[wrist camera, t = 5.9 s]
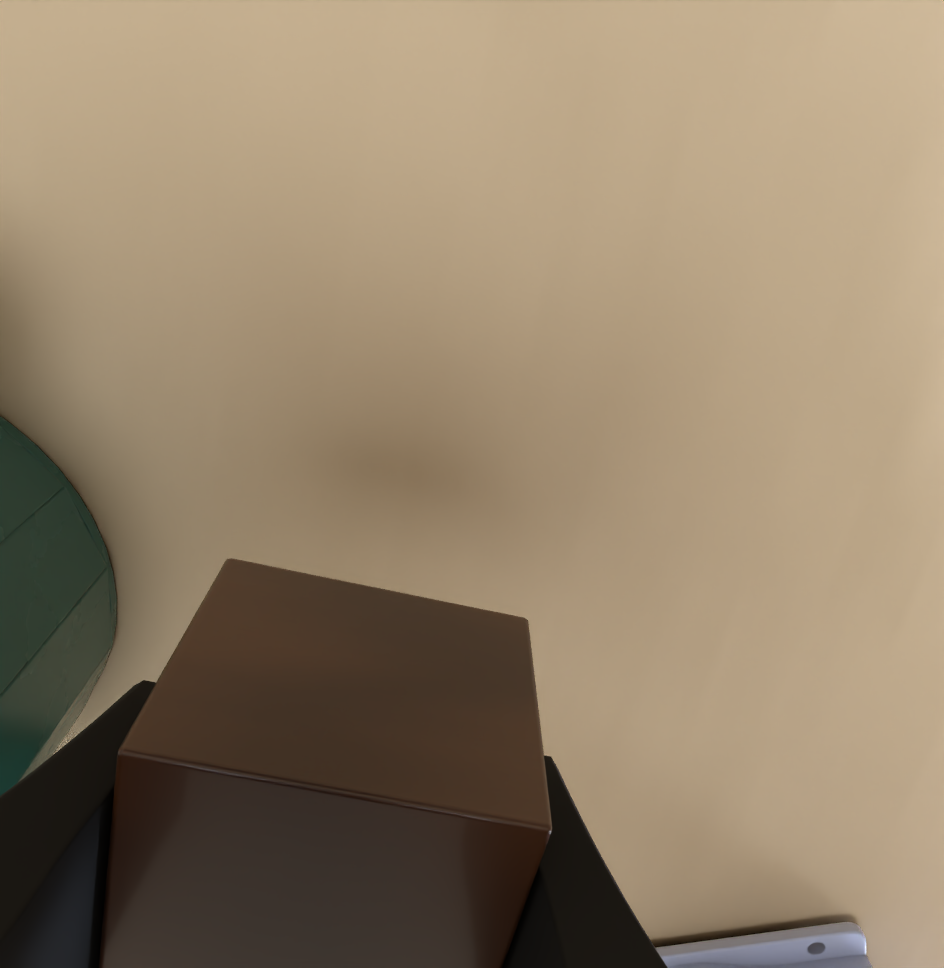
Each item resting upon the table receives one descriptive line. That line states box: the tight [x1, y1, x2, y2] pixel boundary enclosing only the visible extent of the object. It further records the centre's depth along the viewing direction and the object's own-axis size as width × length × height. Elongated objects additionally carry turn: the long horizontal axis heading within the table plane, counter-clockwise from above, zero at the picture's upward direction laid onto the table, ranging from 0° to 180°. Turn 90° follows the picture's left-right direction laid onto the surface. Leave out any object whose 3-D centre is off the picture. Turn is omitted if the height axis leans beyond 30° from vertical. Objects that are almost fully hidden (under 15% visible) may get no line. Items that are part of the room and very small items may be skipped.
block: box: [99, 558, 552, 968], centre depth 11 cm, size 4×4×4 cm
